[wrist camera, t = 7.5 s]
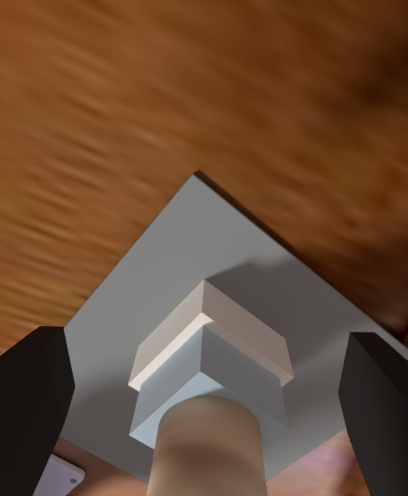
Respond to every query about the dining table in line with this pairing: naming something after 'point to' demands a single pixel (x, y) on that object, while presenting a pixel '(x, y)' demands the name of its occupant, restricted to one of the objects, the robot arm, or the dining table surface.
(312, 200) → the dining table surface
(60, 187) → the dining table surface
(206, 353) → the top block
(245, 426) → the beech cylinder
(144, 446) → the slate mat
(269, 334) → the base block
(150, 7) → the dining table surface
